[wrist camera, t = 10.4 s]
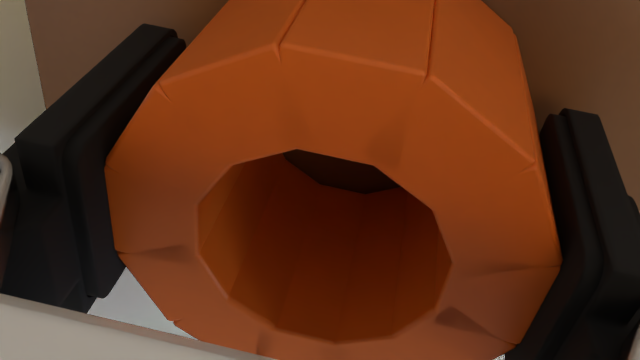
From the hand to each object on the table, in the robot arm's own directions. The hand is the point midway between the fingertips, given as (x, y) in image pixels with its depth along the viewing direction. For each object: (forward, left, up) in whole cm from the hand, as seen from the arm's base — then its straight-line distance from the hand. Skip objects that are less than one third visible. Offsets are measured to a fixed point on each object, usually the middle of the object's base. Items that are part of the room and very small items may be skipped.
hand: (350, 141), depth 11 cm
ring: (0, 0, -1) cm, 1 cm away
